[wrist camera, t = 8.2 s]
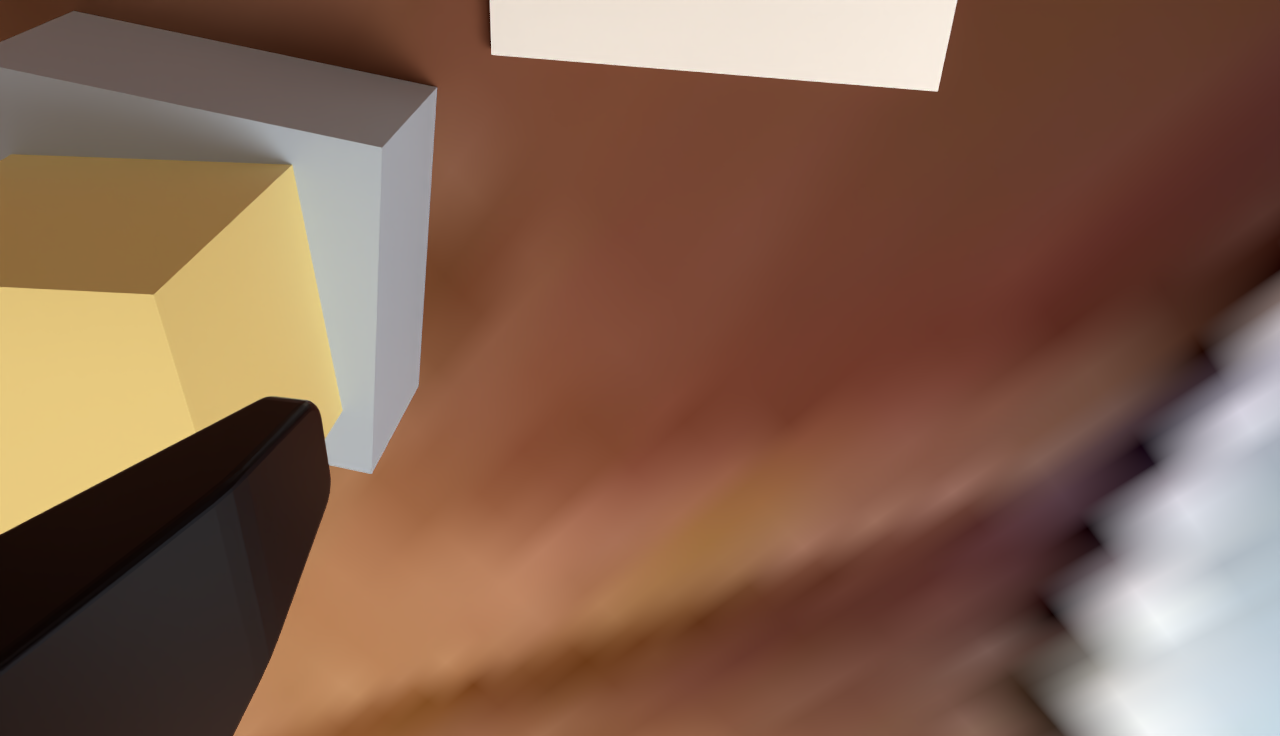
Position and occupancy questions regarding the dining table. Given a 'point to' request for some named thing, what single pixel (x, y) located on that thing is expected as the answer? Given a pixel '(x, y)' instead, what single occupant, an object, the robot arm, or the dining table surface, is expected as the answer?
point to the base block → (269, 134)
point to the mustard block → (145, 313)
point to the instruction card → (738, 37)
